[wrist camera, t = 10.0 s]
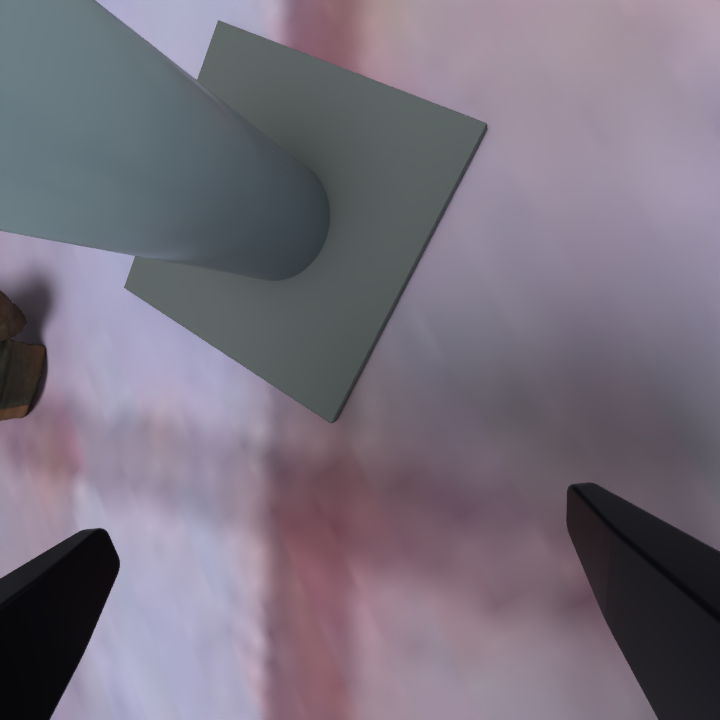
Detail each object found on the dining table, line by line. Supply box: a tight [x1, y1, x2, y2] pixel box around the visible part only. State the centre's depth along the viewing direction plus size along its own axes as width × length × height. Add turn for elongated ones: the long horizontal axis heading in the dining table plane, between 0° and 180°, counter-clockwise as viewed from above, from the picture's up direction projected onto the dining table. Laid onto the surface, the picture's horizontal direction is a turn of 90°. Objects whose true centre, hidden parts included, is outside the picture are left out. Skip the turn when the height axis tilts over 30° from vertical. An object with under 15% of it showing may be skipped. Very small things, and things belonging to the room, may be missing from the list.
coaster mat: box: [124, 20, 487, 423], centre depth 20 cm, size 14×14×1 cm
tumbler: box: [0, 0, 329, 281], centre depth 13 cm, size 6×6×14 cm
